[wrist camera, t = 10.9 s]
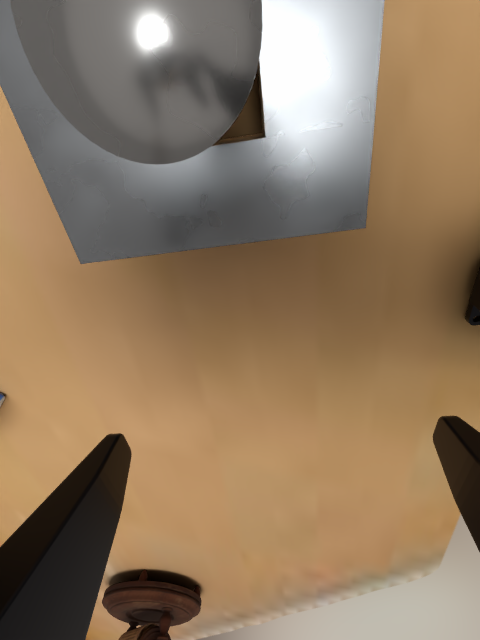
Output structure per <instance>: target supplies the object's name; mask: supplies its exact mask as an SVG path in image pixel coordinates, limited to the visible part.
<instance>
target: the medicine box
mask: <svg viewBox="0 0 480 640" xmlns="http://www.w3.org/2000/svg"><path fill="white" fill-rule="evenodd" d="M4 399H5V396H4V394H3V393H0V407H1V405H2V403H3V401H4Z"/></svg>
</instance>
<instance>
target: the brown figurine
mask: <svg viewBox="0 0 480 640" xmlns="http://www.w3.org/2000/svg"><path fill="white" fill-rule="evenodd" d="M102 604H103V606H104V607H105V608H106V609H107V611H108V612H109V614H111V615H112V616H113V617H115V618H117V619H119V620H121V621H124V622H127V623H129V625H130V628H129V629H128V630H127V632H125V633H124V634H123V635H122V636H121V637H120V638H119V640H171V638H170V636H169V634H168V630H169V627H170V626H175V625H180V624H183V623H186V622H188V621H190V620H191V619H192V618H193V617H195V616H196V615H198V614H199V612H200V609H201V608H200V606H201V598H200V590H199V587H198V586H196V587H195V589H194V591H192V590H190V589H187V588H185V587H182V586H179V585H175V584H170V583H165V582H157V581H147V571H146V570H143V571H142V573H141V575H140V577H139V581H128V582H122V583H118V584H114V585H112V586H110V587H108V588H107V589H106V590H105V593H104V598H103V600H102ZM138 625H141V627H138V628H136V626H138Z"/></svg>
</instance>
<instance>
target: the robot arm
mask: <svg viewBox="0 0 480 640" xmlns="http://www.w3.org/2000/svg"><path fill="white" fill-rule="evenodd" d="M476 316H477V317H476ZM474 317H476V318H474ZM465 319H466V321H467V322H468V323H469V324H471V325H480V268H479V271H478V274H477V277H476V281H475V284H474V287H473V290H472V294H471V297H470V302H469V306H468V309H467V312H466V316H465ZM433 442H434V445H435V448H436V451H437V453H438V456H439V459H440V462H441V464H442V467H443V470H444V473H445V475H446V478H447V481H448V484H449V486H450V489H451V492H452V494H453V497H454V499H455V502H456V504H457V506H458V508H459V510H460V512H461V515H462V516H463V519H464V521H465V523H466V525H467V527H468V529H469V531H470V533H471V535H472V537H473V539H474V541H475V543H476V545H477V548H478V550H479V552H480V432H478V431H477V430H476V429H474V428H473V427H471V426H470V425H469V424H467V423H466V422H465V421H463V420H462V419H461V418H459V417H457V416H442V417H440V418H439V419H438V422H437V425H436V428H435V430H434V433H433ZM130 461H131V449H130V447H129V445H128V443H127V441H126V439H125V437H124V435H123V434H121V433H118V434H109V435H107V436H106V437H105V438H104V439H103V440H102V441H101V442H100V443H99V444H98V445H97V446H96V447H95V448H94V449H93V450H92V451H91V452H90V453H89V454H88V455H87V457H86V458H85V459H84V460H83V461H82V462H81V463H80V464H79V465H78V466H77V467H76V468H75V469H74V470H73V471H72V472H71V473H70V474H69V475H68V476H67V478H66V479H65V480H64V481H63V482H62V483H61V484H60V485H59V486H58V487H57V488H56V489H55V490H54V491H53V492H52V493H51V494H50V495H49V496H48V497H47V499H46V500H45V501H44V502H43V503H42V504H41V505H40V506H39V507H38V508H37V509H36V510H35V511H34V512H33V513H32V514H31V515H30V516H29V517H28V518H27V520H26V521H25V522H24V523H23V524H22V525H21V526H20V527H19V528H18V529H17V530H16V531H15V532H14V533H13V534H12V535H11V536H10V537H9V538H8V539H7V541H6V542H5V543H4V544H3V545H2V546H1V547H0V640H85V639H86V635H87V632H88V628H89V624H90V621H91V617H92V614H93V610H94V607H95V603H96V600H97V596H98V593H99V589H100V586H101V582H102V579H103V575H104V571H105V568H106V564H107V561H108V557H109V554H110V550H111V547H112V543H113V540H114V536H115V533H116V529H117V525H118V522H119V518H120V514H121V511H122V506H123V501H124V495H125V489H126V484H127V478H128V472H129V467H130Z"/></svg>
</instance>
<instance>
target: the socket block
mask: <svg viewBox="0 0 480 640" xmlns="http://www.w3.org/2000/svg"><path fill="white" fill-rule="evenodd" d="M384 1H385V0H262V25H263V27H262V40H261V50H260V56H259V62H258V67H257V71H258V82H259V94H260V106H261V118H262V130H263V133H258V134H252V135H245V136H239V137H233V138H226V139H220V140H218V141H217V142H215V143H214V144H213V145H212V146H210V147H209V148H208V149H206V150H205V151H203V152H201V153H199V154H198V155H196V156H194V157H191V158H189V159H186V160H184V161H180V162H175V163H171V164H159V165H155V164H143V163H138V162H133V161H129V160H127V159H124V158H121V157H118V156H116V155H114V154H112V153H110V152H108V151H106V150H104V149H102V148H101V147H99V146H98V145H96V144H94V143H93V142H91V141H90V140H89V139H88V138H86V137H85V136H84V135H83V134H81V133H80V132H79V131H78V130H77V129H76V128H75V127H74V126H73V125H72V124H71V123H70V122H69V121H68V120H67V119H66V118H65V117H64V116H63V115H62V114H61V112H60V111H59V110H58V109H57V108H56V106H55V105H54V104H53V102H52V101H51V99H50V98H49V97H48V95H47V94H46V92H45V91H44V89H43V88H42V86H41V84H40V82H39V81H38V79H37V77H36V75H35V73H34V72H33V70H32V68H31V65H30V63H29V61H28V59H27V56H26V54H25V52H24V49H23V47H22V44H21V41H20V38H19V35H18V32H17V29H16V25H15V21H14V17H13V13H12V9H11V4H10V0H0V85H1V88H2V90H3V92H4V94H5V96H6V99H7V101H8V103H9V105H10V108H11V110H12V112H13V114H14V116H15V119H16V121H17V123H18V125H19V128H20V130H21V132H22V134H23V136H24V139H25V141H26V143H27V145H28V148H29V150H30V152H31V154H32V156H33V159H34V161H35V163H36V165H37V168H38V170H39V172H40V174H41V177H42V179H43V181H44V183H45V185H46V188H47V190H48V192H49V194H50V197H51V199H52V201H53V203H54V205H55V208H56V210H57V212H58V214H59V217H60V219H61V221H62V223H63V225H64V228H65V230H66V232H67V234H68V237H69V239H70V241H71V243H72V245H73V248H74V250H75V252H76V254H77V257H78V259H79V261H80V263H81V264H84V263H92V262H100V261H108V260H116V259H124V258H132V257H139V256H147V255H155V254H163V253H171V252H179V251H187V250H195V249H203V248H211V247H219V246H227V245H235V244H243V243H250V242H258V241H266V240H274V239H282V238H290V237H298V236H306V235H314V234H322V233H330V232H338V231H346V230H354V229H361V228H366V218H367V206H368V193H369V181H370V169H371V157H372V145H373V133H374V121H375V109H376V97H377V85H378V73H379V61H380V49H381V37H382V25H383V13H384Z"/></svg>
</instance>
